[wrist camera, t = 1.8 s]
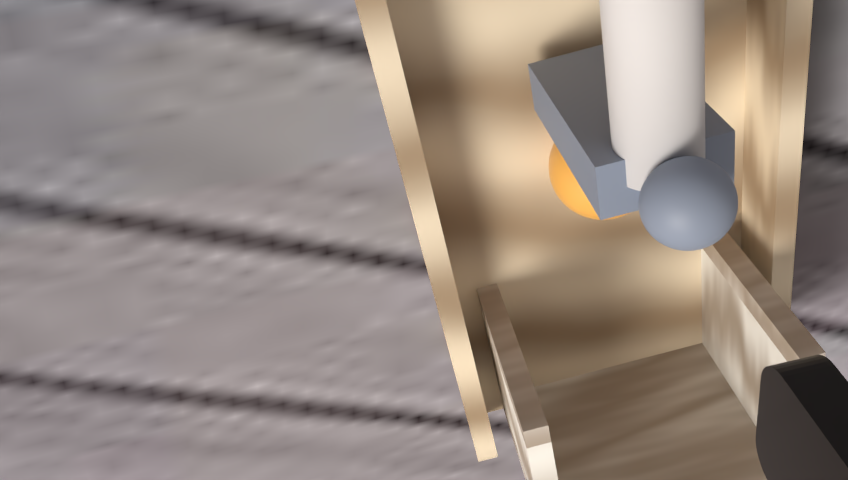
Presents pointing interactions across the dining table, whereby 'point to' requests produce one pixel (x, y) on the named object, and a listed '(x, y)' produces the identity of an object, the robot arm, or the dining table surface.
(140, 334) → the dining table surface
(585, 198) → the ball
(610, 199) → the rod
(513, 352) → the game board
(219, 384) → the dining table surface
